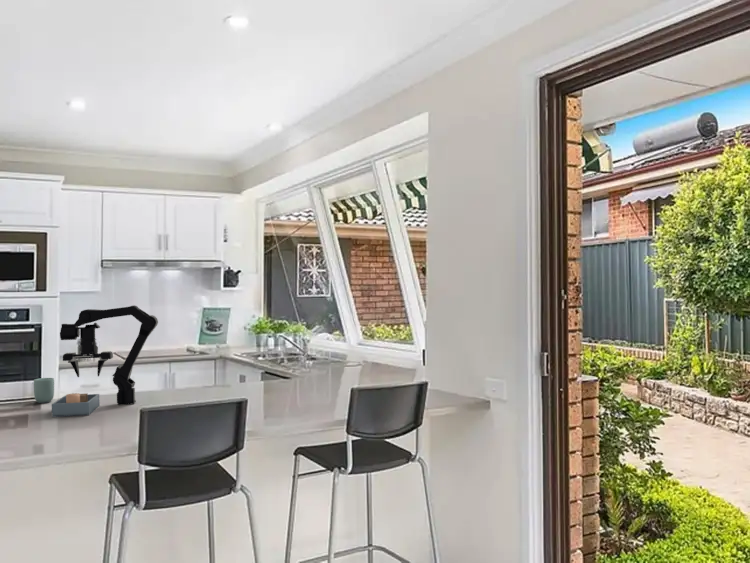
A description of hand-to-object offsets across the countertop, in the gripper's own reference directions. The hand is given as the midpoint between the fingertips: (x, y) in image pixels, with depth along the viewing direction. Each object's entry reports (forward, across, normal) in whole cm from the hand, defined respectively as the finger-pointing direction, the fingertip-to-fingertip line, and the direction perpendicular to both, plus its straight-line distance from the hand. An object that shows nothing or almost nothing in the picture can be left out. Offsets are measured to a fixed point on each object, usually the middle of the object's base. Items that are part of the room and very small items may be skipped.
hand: (88, 376), depth 283 cm
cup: (+12, +21, -13) cm, 28 cm away
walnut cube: (+11, +2, +7) cm, 13 cm away
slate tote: (+12, +2, +12) cm, 17 cm away
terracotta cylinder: (+11, +2, +18) cm, 21 cm away
